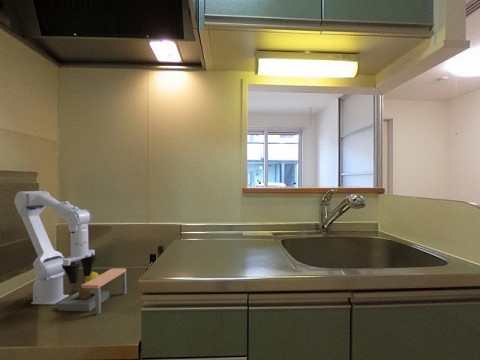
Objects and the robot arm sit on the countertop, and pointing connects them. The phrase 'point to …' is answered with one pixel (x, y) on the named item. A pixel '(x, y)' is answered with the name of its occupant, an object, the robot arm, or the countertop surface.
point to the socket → (81, 302)
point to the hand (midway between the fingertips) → (80, 279)
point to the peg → (84, 292)
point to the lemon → (91, 277)
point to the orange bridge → (103, 280)
